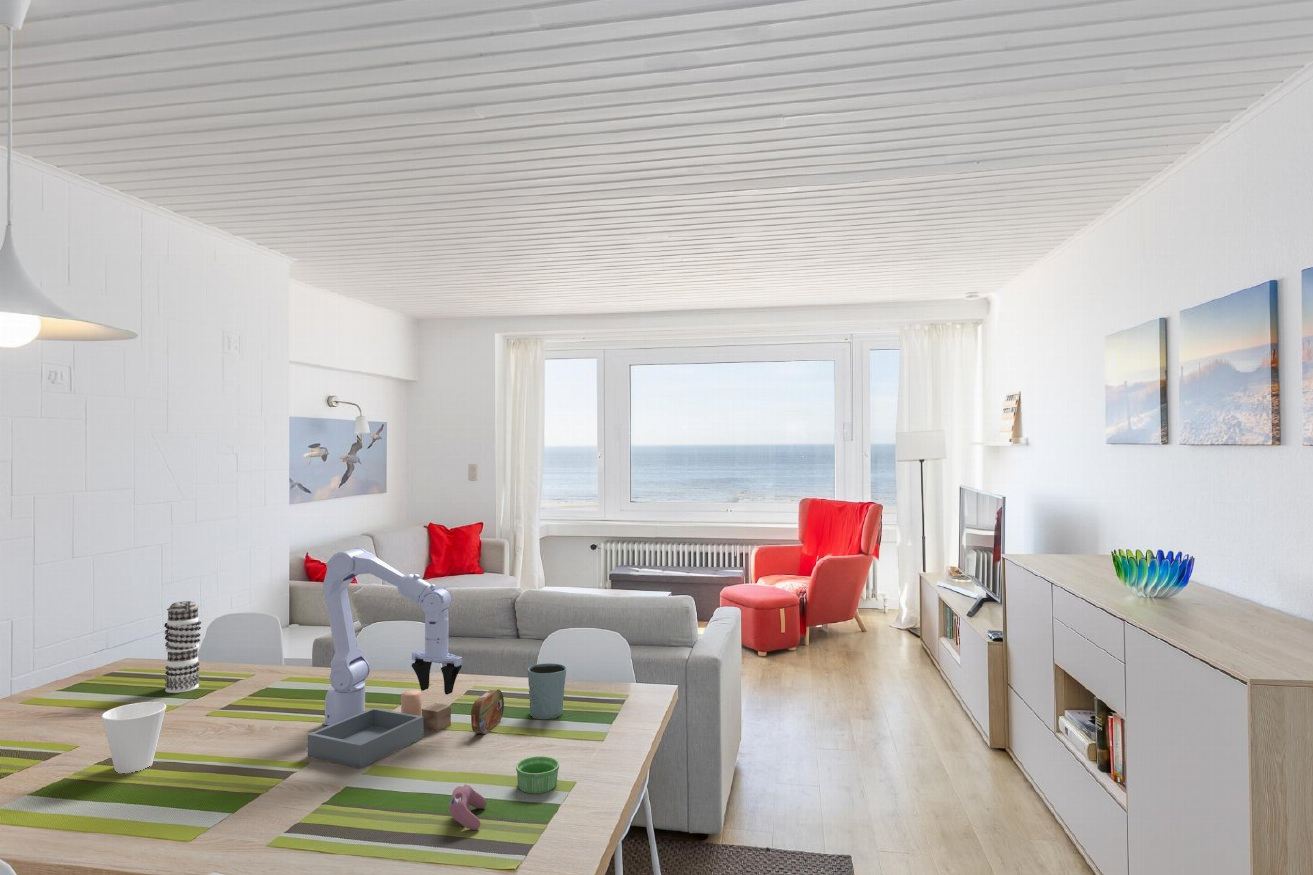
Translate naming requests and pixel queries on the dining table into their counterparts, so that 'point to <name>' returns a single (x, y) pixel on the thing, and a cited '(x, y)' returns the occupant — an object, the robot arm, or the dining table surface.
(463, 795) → the video game controller
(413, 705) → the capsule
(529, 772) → the ramekin
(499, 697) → the tin
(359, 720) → the tote
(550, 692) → the grey plant pot
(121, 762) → the cup
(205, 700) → the dining table surface
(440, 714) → the cube
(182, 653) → the decorative candle
